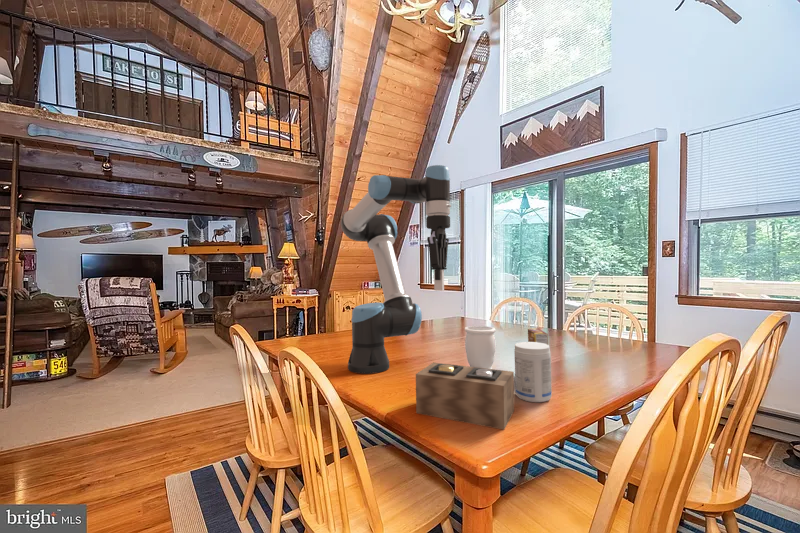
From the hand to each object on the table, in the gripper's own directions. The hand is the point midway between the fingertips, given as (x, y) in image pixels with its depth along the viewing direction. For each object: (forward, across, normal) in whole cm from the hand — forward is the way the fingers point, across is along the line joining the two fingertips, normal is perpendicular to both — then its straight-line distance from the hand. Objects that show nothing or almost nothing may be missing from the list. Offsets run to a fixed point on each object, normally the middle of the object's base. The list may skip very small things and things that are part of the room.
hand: (439, 290), depth 118 cm
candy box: (+30, +19, -27) cm, 44 cm away
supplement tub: (+30, -1, -28) cm, 41 cm away
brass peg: (+28, -19, -9) cm, 35 cm away
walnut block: (+29, -19, -14) cm, 38 cm away
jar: (+30, +18, -8) cm, 36 cm away
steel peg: (+28, -19, -19) cm, 39 cm away
